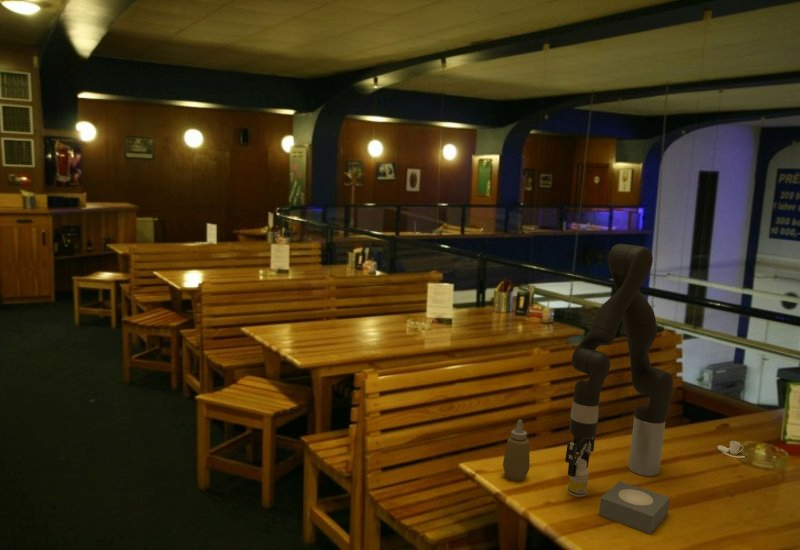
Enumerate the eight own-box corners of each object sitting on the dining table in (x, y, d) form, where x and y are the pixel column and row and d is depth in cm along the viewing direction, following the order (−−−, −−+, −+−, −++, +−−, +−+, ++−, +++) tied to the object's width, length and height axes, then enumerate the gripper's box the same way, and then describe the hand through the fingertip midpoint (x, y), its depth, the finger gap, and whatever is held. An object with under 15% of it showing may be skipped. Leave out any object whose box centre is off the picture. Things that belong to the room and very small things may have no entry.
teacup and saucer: (714, 452, 236) (715, 440, 235) (724, 446, 241) (725, 435, 241) (740, 461, 229) (742, 449, 229) (750, 455, 235) (751, 444, 234)
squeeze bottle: (496, 472, 209) (501, 416, 206) (520, 470, 212) (524, 414, 209) (510, 484, 202) (515, 426, 199) (533, 481, 205) (539, 424, 202)
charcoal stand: (618, 497, 198) (620, 480, 197) (667, 514, 189) (669, 496, 188) (598, 515, 187) (600, 497, 186) (650, 534, 178) (652, 515, 178)
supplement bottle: (572, 486, 203) (575, 455, 201) (589, 492, 200) (592, 461, 198) (563, 492, 199) (567, 460, 197) (581, 499, 195) (584, 466, 194)
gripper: (586, 427, 188) (579, 483, 190) (606, 415, 199) (600, 468, 201) (561, 420, 192) (554, 474, 195) (582, 408, 203) (576, 460, 206)
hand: (577, 471), depth 198 cm, fingers open, 8 cm apart
